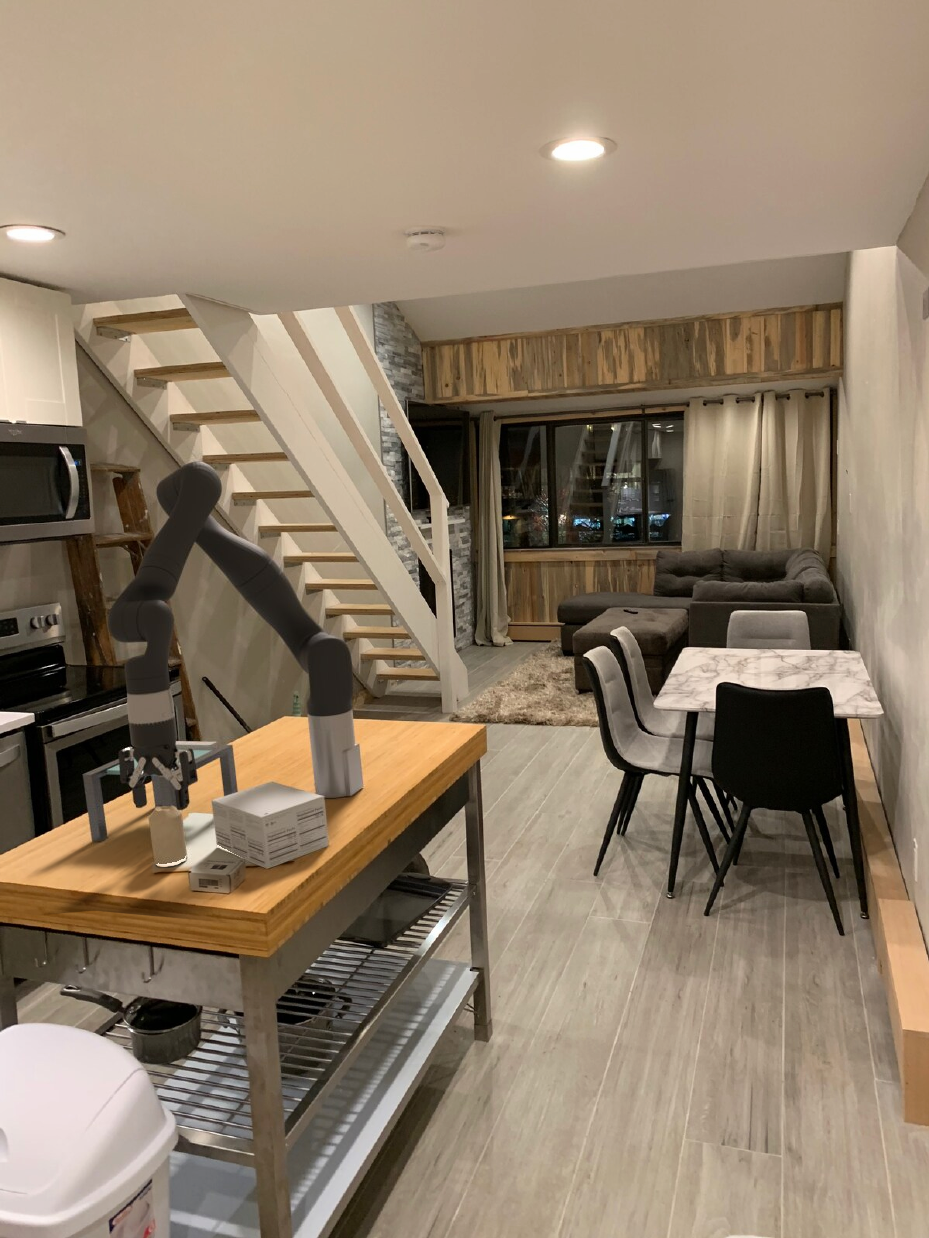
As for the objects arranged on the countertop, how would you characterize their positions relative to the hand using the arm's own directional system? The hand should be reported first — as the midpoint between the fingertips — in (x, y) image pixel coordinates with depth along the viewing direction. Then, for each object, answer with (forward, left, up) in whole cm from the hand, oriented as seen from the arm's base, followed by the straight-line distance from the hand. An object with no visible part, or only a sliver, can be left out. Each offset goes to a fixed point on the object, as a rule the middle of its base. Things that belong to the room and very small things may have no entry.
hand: (161, 807), depth 160 cm
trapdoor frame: (+12, -17, -10) cm, 23 cm away
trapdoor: (+12, -19, +1) cm, 22 cm away
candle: (-1, 0, -10) cm, 10 cm away
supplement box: (-16, -9, -10) cm, 21 cm away
